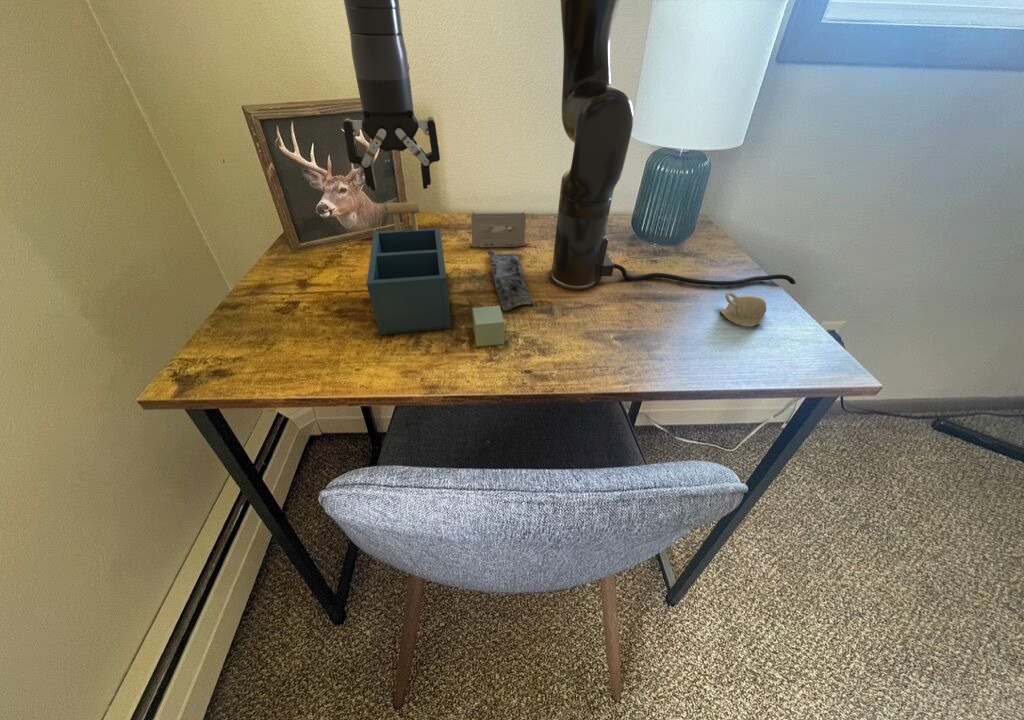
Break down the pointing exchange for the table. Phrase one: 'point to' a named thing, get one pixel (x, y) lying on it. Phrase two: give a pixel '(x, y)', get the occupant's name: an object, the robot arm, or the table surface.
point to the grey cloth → (509, 280)
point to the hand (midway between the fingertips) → (400, 188)
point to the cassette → (498, 237)
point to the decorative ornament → (745, 310)
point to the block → (488, 325)
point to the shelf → (408, 276)
